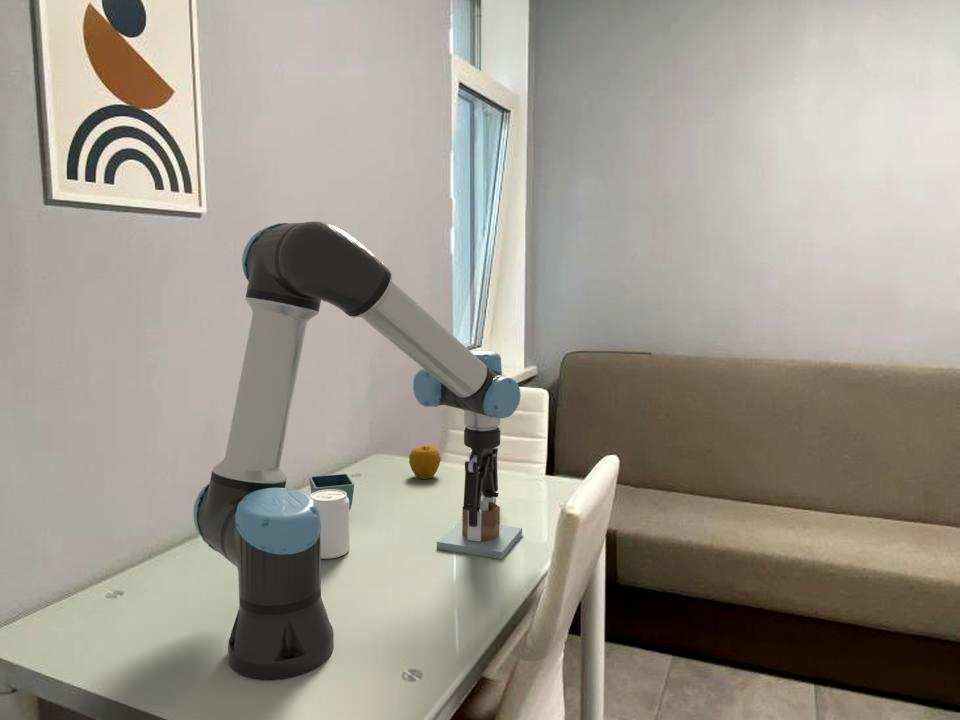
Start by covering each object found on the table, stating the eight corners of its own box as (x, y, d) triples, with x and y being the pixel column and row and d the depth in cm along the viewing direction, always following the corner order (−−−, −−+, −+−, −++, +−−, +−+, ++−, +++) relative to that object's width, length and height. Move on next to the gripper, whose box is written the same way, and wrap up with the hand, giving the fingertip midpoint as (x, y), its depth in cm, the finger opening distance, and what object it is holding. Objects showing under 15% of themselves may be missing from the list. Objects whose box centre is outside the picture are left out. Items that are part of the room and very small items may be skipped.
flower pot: (355, 522, 159) (354, 483, 157) (315, 527, 155) (314, 487, 154) (347, 509, 167) (347, 472, 166) (309, 514, 163) (308, 476, 162)
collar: (491, 543, 144) (491, 514, 143) (458, 538, 146) (458, 510, 145) (502, 531, 151) (503, 503, 150) (470, 526, 153) (471, 499, 152)
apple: (428, 470, 199) (428, 440, 198) (446, 478, 193) (447, 446, 192) (403, 476, 194) (403, 444, 193) (421, 483, 187) (421, 451, 186)
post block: (501, 559, 140) (502, 515, 138) (436, 548, 144) (436, 506, 143) (522, 534, 153) (522, 494, 152) (461, 525, 157) (462, 486, 156)
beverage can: (340, 562, 137) (339, 502, 135) (301, 558, 139) (300, 499, 137) (355, 546, 145) (355, 490, 143) (318, 543, 146) (317, 487, 145)
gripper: (482, 439, 135) (481, 554, 138) (514, 418, 153) (512, 519, 156) (446, 435, 137) (445, 548, 140) (481, 415, 156) (480, 515, 159)
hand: (480, 533), depth 148 cm, fingers closed on collar, 7 cm apart
